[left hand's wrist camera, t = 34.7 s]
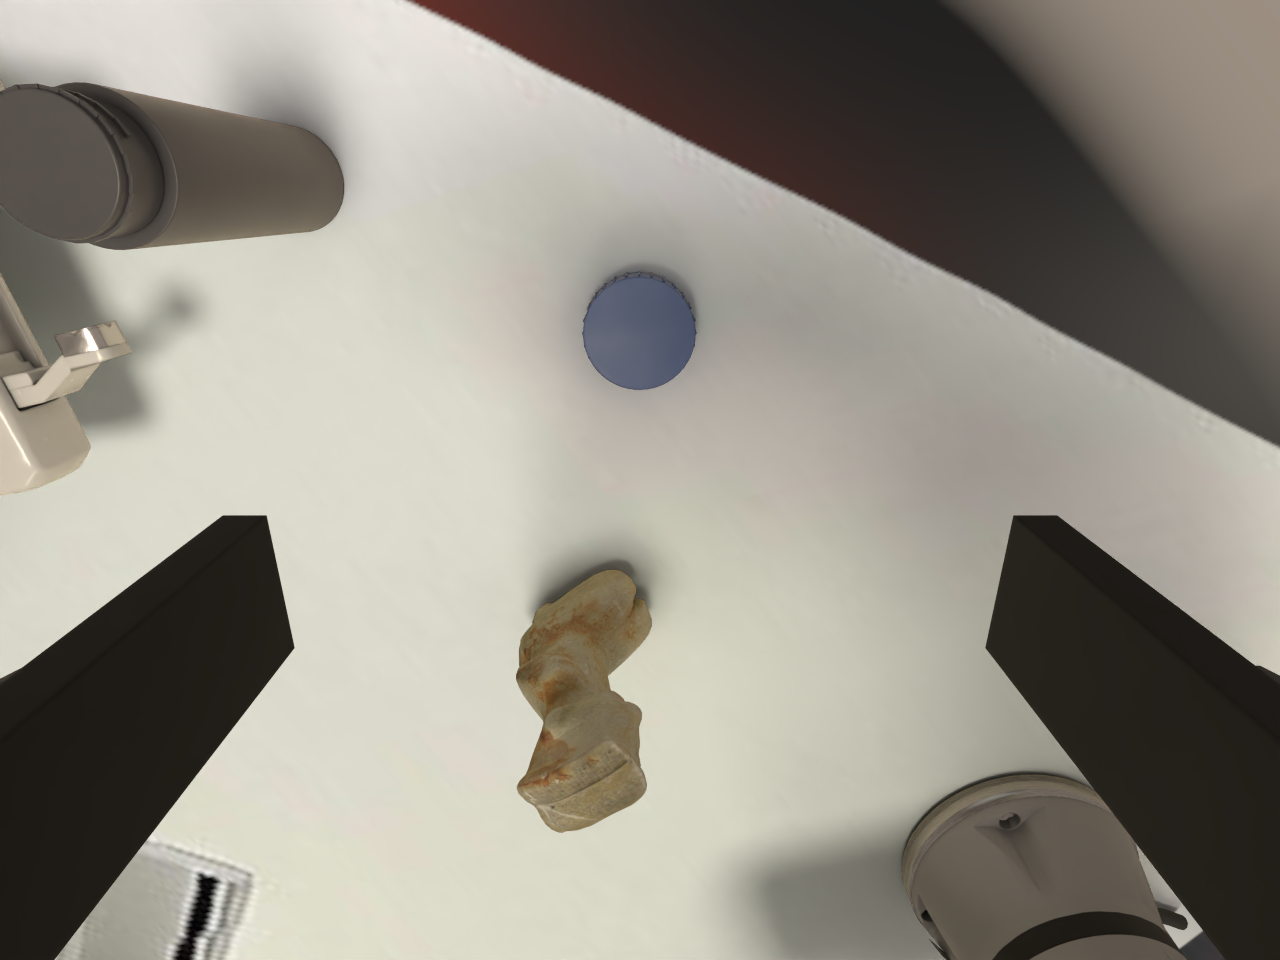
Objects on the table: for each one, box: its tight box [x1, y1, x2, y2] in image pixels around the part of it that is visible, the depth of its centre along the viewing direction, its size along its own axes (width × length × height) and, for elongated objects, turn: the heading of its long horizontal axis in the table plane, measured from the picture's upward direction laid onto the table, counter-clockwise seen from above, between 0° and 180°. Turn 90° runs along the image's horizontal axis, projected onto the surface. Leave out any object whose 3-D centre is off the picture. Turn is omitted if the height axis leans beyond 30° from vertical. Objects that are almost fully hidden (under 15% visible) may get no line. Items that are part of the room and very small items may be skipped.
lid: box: [582, 271, 696, 390], centre depth 36 cm, size 6×6×2 cm
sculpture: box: [516, 570, 652, 833], centre depth 36 cm, size 6×7×15 cm
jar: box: [0, 83, 344, 250], centre depth 27 cm, size 5×5×15 cm
